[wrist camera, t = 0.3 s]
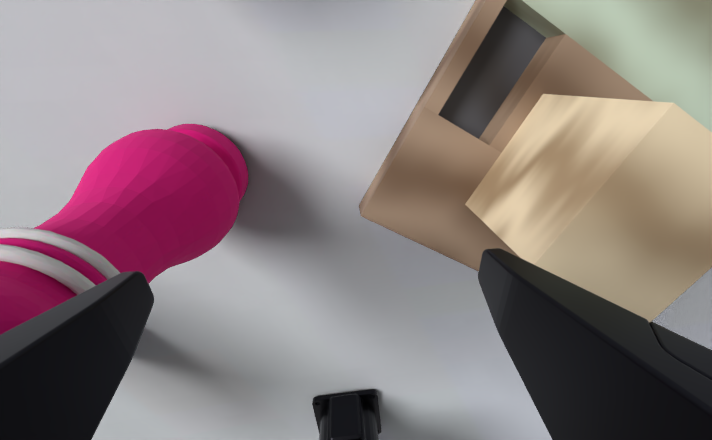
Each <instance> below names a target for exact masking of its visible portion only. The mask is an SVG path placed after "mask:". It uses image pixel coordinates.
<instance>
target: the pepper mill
mask: <svg viewBox="0 0 712 440" xmlns="http://www.w3.org/2000/svg"><path fill="white" fill-rule="evenodd" d="M247 185H248V169H247V166H246V163H245V160H244V158H243V156H242V154H241V153H240V151H239V150H238V148H237V147H236V146H235V145H234V144H233V142H231V141H230V140H229V139H228V138H227V137H225V136H224V135H223V134H221V133H220V132H218V131H216V130H214V129H211V128H209V127H206V126H203V125H197V124H182V125H178V126H174V127H172V128H170V129H167V130H163V129H152V130H142V131H138V132H134V133H131V134H129V135H127V136H125V137H123V138H121V139H119V140H117V141H116V142H114V143H112V144H111V145H109V146H108V147H106V148H105V149H104V150H103V151H102V152H101V153H100V154H99V155H98V156H97V157H96V158H95V160H94V161H93V162H92V163H91V164H90V165H89V166H88V168H87V169H86V171H85V173H84V175H83V177H82V179H81V181H80V183H79V185H78V187H77V189H76V190H75V192H74V194H73V196H72V198H71V199H70V201H69V202H68V203H67V205H66V206H65V207H64V208H63V209H62V210H61V211H60V212H59V213H58V214H56V215H55V216H53V217H52V218H50V219H49V220H47V221H46V222H44V223H43V224H41V225H40V226H37V227H35V228H23V227H11V228H3V229H0V335H1V334H3V333H5V332H6V331H8V330H10V329H12V328H14V327H16V326H18V325H20V324H22V323H24V322H26V321H28V320H30V319H32V318H34V317H36V316H38V315H40V314H42V313H44V312H46V311H47V310H49V309H51V308H53V307H55V306H57V305H59V304H61V303H63V302H65V301H67V300H69V299H71V298H73V297H75V296H77V295H79V294H81V293H83V292H85V291H86V290H88V289H90V288H92V287H94V286H96V285H98V284H100V283H102V282H104V281H106V280H108V279H110V278H112V277H114V276H116V275H118V274H120V273H122V272H129V271H140V272H142V273H143V274H144V275H145V277H146V280H147V282H148V284H149V283H150V282H151V281H152V280H153V279H154V278H155V277H156V276H157V275H159V274H160V273H162V272H163V271H165V270H166V269H168V268H169V267H172V266H175V265H178V264H181V263H184V262H187V261H190V260H192V259H194V258H196V257H198V256H200V255H202V254H204V253H206V252H207V251H209V250H210V249H212V248H213V247H215V246H216V245H217V244H218V243H219V242H220V241H221V240H222V239H223V238H224V236H225V235H226V234H227V233H228V232H229V230H230V229H231V228H232V226H233V224H234V222H235V220H236V217H237V214H238V209H239V202H240V200H241V199H242V197H243V196H244V194H245V192H246V189H247Z"/></svg>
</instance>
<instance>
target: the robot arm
mask: <svg viewBox="0 0 712 440" xmlns="http://www.w3.org/2000/svg"><path fill="white" fill-rule="evenodd" d="M478 279H479V283H480V285H481V288H482V291H483V293H484V296H485V299H486V301H487V304H488V307H489V309H490V312H491V315H492V317H493V320H494V323H495V325H496V328H497V330H498V333H499V335H500V337H501V339H502V341H503V343H504V345H505V347H506V349H507V351H508V353H509V355H510V357H511V359H512V361H513V363H514V365H515V367H516V368H517V370H518V372H519V374H520V376H521V378H522V380H523V382H524V384H525V386H526V388H527V390H528V392H529V394H530V396H531V398H532V400H533V402H534V404H535V406H536V408H537V410H538V412H539V414H540V416H541V418H542V420H543V422H544V424H545V426H546V428H547V430H548V432H549V434H550V435H551V437H552V439H553V440H712V350H710V349H708V348H706V347H704V346H702V345H699V344H697V343H695V342H693V341H691V340H689V339H687V338H685V337H683V336H680V335H678V334H676V333H674V332H672V331H670V330H668V329H666V328H664V327H662V326H660V325H658V324H656V323H654V322H648V320H647V319H645V318H643V317H641V316H639V315H637V314H635V313H633V312H631V311H629V310H627V309H625V308H622V307H620V306H618V305H616V304H614V303H612V302H610V301H608V300H606V299H604V298H602V297H600V296H598V295H596V294H594V293H592V292H590V291H587V290H585V289H583V288H581V287H579V286H577V285H575V284H573V283H571V282H569V281H567V280H565V279H563V278H561V277H559V276H557V275H554V274H552V273H550V272H548V271H546V270H544V269H542V268H540V267H538V266H536V265H534V264H532V263H530V262H528V261H526V260H524V259H522V258H520V257H517V256H515V255H513V254H511V253H509V252H507V251H505V250H503V249H501V248H491V249H485V250H484V251H483V253H482V257H481V262H480V267H479V272H478ZM153 303H154V296H153V293H152V291H151V288H150V286H149V284H148V282H147V280H146V277H145V275H144V274H143V273H142V272H140V271H129V272H122V273H120V274H118V275H116V276H114V277H112V278H110V279H108V280H106V281H104V282H102V283H100V284H98V285H96V286H94V287H92V288H90V289H88V290H86V291H85V292H83V293H81V294H79V295H77V296H75V297H73V298H71V299H69V300H67V301H65V302H63V303H61V304H59V305H57V306H55V307H53V308H51V309H49V310H47V311H46V312H44V313H42V314H40V315H38V316H36V317H34V318H32V319H30V320H28V321H26V322H24V323H22V324H20V325H18V326H16V327H14V328H12V329H10V330H8V331H6V332H5V333H3V334H1V335H0V440H91V439H92V437H93V435H94V433H95V431H96V429H97V427H98V425H99V423H100V421H101V419H102V417H103V415H104V413H105V412H106V410H107V408H108V406H109V404H110V402H111V400H112V398H113V396H114V394H115V392H116V390H117V388H118V386H119V384H120V382H121V380H122V378H123V376H124V374H125V372H126V370H127V368H128V366H129V364H130V362H131V360H132V357H133V355H134V353H135V350H136V348H137V345H138V343H139V340H140V337H141V335H142V332H143V330H144V327H145V325H146V322H147V319H148V317H149V314H150V312H151V309H152V306H153ZM312 405H313V409H314V413H315V417H316V421H317V425H318V429H319V434H320V436H319V440H379V439H378V434H379V433H381V424H380V415H379V405H378V396H377V391H376V390H366V391H358V392H350V393H342V394H334V395H326V396H318V397H314V398H313V403H312Z"/></svg>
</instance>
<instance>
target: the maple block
mask: <svg viewBox="0 0 712 440" xmlns="http://www.w3.org/2000/svg"><path fill="white" fill-rule="evenodd" d="M465 205H466V206H467V207H468V208H469V209H470V210H471V211H472V212H473V213H475V214H476V215H477V216H478V217H479V218H480V219H481V220H482V221H483V222H484V223H485V224H486V225H487V226H488V227H489V228H490V229H491V230H492V231H493V232H494V233H495V234H496V235H497V236H498V237H499V238H500V239H501V240H503V241H504V242H505V243H506V244H507V245H508V246H509V247H510V248H511V249H512V250H513V251H514V252H515V253H516V254H517V255H518V256H519V257H520V258H522V259H524V260H526V261H528V262H530V263H532V264H534V265H536V266H538V267H540V268H542V269H544V270H546V271H548V272H550V273H552V274H554V275H557V276H559V277H561V278H563V279H565V280H567V281H569V282H571V283H573V284H575V285H577V286H579V287H581V288H583V289H585V290H587V291H590V292H592V293H594V294H596V295H598V296H600V297H602V298H604V299H606V300H608V301H610V302H612V303H614V304H616V305H618V306H620V307H622V308H625V309H627V310H629V311H631V312H633V313H635V314H637V315H639V316H641V317H643V318H645V319H647V320H648V322H651V321H652V320H653V319H655V318H656V317H657V316H658V315H659V314H660V313H661V312H662V311H664V310H665V309H666V308H667V307H668V306H669V305H670V304H671V303H672V302H674V301H675V300H676V299H677V298H678V297H679V296H680V295H681V294H682V293H684V292H685V291H686V290H687V289H688V288H689V287H690V286H691V285H693V284H694V283H695V282H696V281H697V280H698V279H699V278H700V277H701V276H703V275H704V274H705V273H706V272H707V271H708V270H709V269H710V268H711V267H712V132H710V131H709V130H708V129H707V128H705V127H704V126H703V125H702V124H700V123H699V122H698V121H696V120H695V119H694V118H693V117H691V116H690V115H689V114H688V113H686V112H685V111H684V110H682V109H681V108H680V107H679V106H677V105H676V104H675V103H669V102H655V101H640V100H626V99H611V98H597V97H582V96H568V95H553V94H543V95H542V96H541V98H540V99H539V100H538V102H537V103H536V105H535V106H534V107H533V109H532V110H531V112H530V113H529V115H528V116H527V117H526V119H525V120H524V122H523V123H522V124H521V126H520V127H519V129H518V130H517V132H516V133H515V134H514V136H513V137H512V139H511V140H510V141H509V143H508V144H507V146H506V147H505V149H504V150H503V151H502V153H501V154H500V156H499V157H498V158H497V160H496V161H495V163H494V164H493V166H492V167H491V168H490V170H489V171H488V173H487V174H486V175H485V177H484V178H483V180H482V181H481V183H480V184H479V185H478V187H477V188H476V190H475V191H474V192H473V194H472V195H471V197H470V198H469V200H468V201H467V202H466V204H465Z"/></svg>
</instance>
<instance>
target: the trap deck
mask: <svg viewBox="0 0 712 440" xmlns="http://www.w3.org/2000/svg"><path fill="white" fill-rule="evenodd" d="M543 94H553V95H568V96H582V97H597V98H611V99H626V100H640V101H655V102H669V103H675V104H676V105H677V106H679V107H680V108H681V109H682V110H684V111H685V112H686V113H688V114H689V115H690V116H691V117H693V118H694V119H695V120H696V121H698V122H699V123H700V124H702V125H703V126H704V127H705V128H707V129H708V130H709V131H710V132H712V0H476V1H475V3H474V4H473V6H472V8H471V10H470V11H469V13H468V15H467V17H466V18H465V20H464V22H463V24H462V25H461V27H460V29H459V31H458V32H457V34H456V36H455V38H454V39H453V41H452V43H451V45H450V46H449V48H448V50H447V52H446V53H445V55H444V57H443V59H442V60H441V62H440V64H439V66H438V68H437V69H436V71H435V73H434V75H433V76H432V78H431V80H430V82H429V83H428V85H427V87H426V89H425V90H424V92H423V94H422V96H421V97H420V99H419V101H418V103H417V104H416V106H415V108H414V110H413V111H412V113H411V115H410V117H409V118H408V120H407V122H406V124H405V125H404V127H403V129H402V131H401V133H400V134H399V136H398V138H397V140H396V141H395V143H394V145H393V147H392V148H391V150H390V152H389V154H388V155H387V157H386V159H385V161H384V162H383V164H382V166H381V168H380V169H379V171H378V173H377V175H376V176H375V178H374V180H373V182H372V183H371V185H370V187H369V189H368V190H367V192H366V194H365V196H364V197H363V199H362V201H361V203H360V205H359V208H360V214H361V216H362V217H364V218H366V219H368V220H370V221H372V222H375V223H377V224H379V225H381V226H383V227H385V228H387V229H389V230H392V231H394V232H396V233H398V234H400V235H402V236H404V237H406V238H409V239H411V240H413V241H415V242H417V243H419V244H421V245H424V246H426V247H428V248H430V249H432V250H434V251H436V252H438V253H441V254H443V255H445V256H447V257H449V258H451V259H453V260H456V261H458V262H460V263H462V264H464V265H466V266H468V267H470V268H473V269H475V270H477V271H479V267H480V262H481V257H482V253H483V251H484V250H485V249H491V248H501V249H503V250H505V251H507V252H509V253H511V254H513V255H515V256H517V257H519V256H518V255H517V254H516V253H515V252H514V251H513V250H512V249H511V248H510V247H509V246H508V245H507V244H506V243H505V242H504V241H503V240H501V239H500V238H499V237H498V236H497V235H496V234H495V233H494V232H493V231H492V230H491V229H490V228H489V227H488V226H487V225H486V224H485V223H484V222H483V221H482V220H481V219H480V218H479V217H478V216H477V215H476V214H475V213H473V212H472V211H471V210H470V209H469V208H468V207H467V206H466V205H465V204H466V202H467V201H468V200H469V198H470V197H471V195H472V194H473V192H474V191H475V190H476V188H477V187H478V185H479V184H480V183H481V181H482V180H483V178H484V177H485V175H486V174H487V173H488V171H489V170H490V168H491V167H492V166H493V164H494V163H495V161H496V160H497V158H498V157H499V156H500V154H501V153H502V151H503V150H504V149H505V147H506V146H507V144H508V143H509V141H510V140H511V139H512V137H513V136H514V134H515V133H516V132H517V130H518V129H519V127H520V126H521V124H522V123H523V122H524V120H525V119H526V117H527V116H528V115H529V113H530V112H531V110H532V109H533V107H534V106H535V105H536V103H537V102H538V100H539V99H540V98H541V96H542V95H543Z"/></svg>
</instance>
